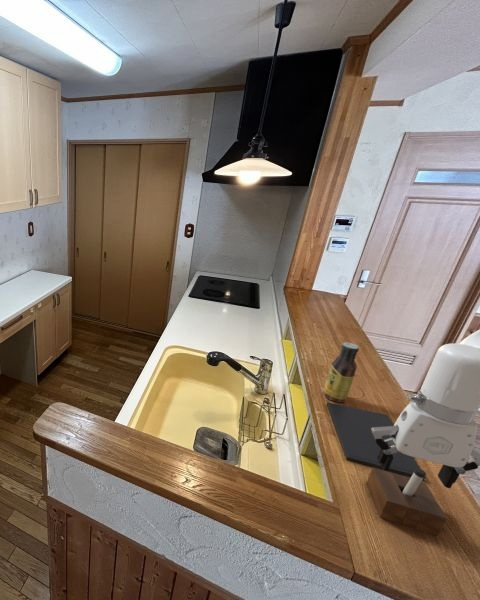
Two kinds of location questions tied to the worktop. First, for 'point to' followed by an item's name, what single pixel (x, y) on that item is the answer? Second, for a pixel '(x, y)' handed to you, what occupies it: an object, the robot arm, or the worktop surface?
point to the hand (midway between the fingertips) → (412, 473)
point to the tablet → (366, 438)
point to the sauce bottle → (341, 374)
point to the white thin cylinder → (414, 482)
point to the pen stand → (405, 502)
